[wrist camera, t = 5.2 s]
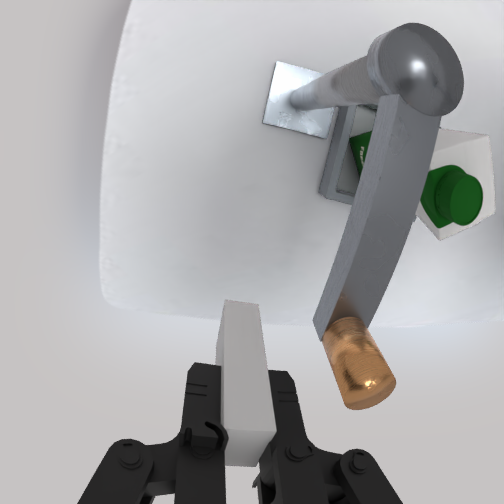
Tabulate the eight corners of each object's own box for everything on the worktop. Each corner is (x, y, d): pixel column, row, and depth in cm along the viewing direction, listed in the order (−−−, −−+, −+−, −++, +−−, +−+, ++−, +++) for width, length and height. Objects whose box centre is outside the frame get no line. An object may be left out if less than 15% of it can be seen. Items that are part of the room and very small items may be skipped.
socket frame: (343, 89, 32) (352, 87, 29) (428, 125, 34) (441, 127, 31) (318, 192, 37) (325, 198, 34) (404, 215, 39) (414, 222, 36)
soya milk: (339, 133, 34) (438, 151, 16) (397, 117, 33) (509, 130, 15) (358, 195, 38) (449, 261, 19) (411, 176, 37) (514, 225, 19)
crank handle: (373, 18, 10) (446, -21, 4) (443, 55, 10) (525, 46, 5) (291, 327, 16) (314, 411, 11) (359, 332, 17) (396, 406, 11)
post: (275, 62, 30) (340, -18, 9) (338, 80, 31) (462, 47, 10) (262, 122, 33) (310, 120, 12) (324, 138, 34) (441, 168, 13)
